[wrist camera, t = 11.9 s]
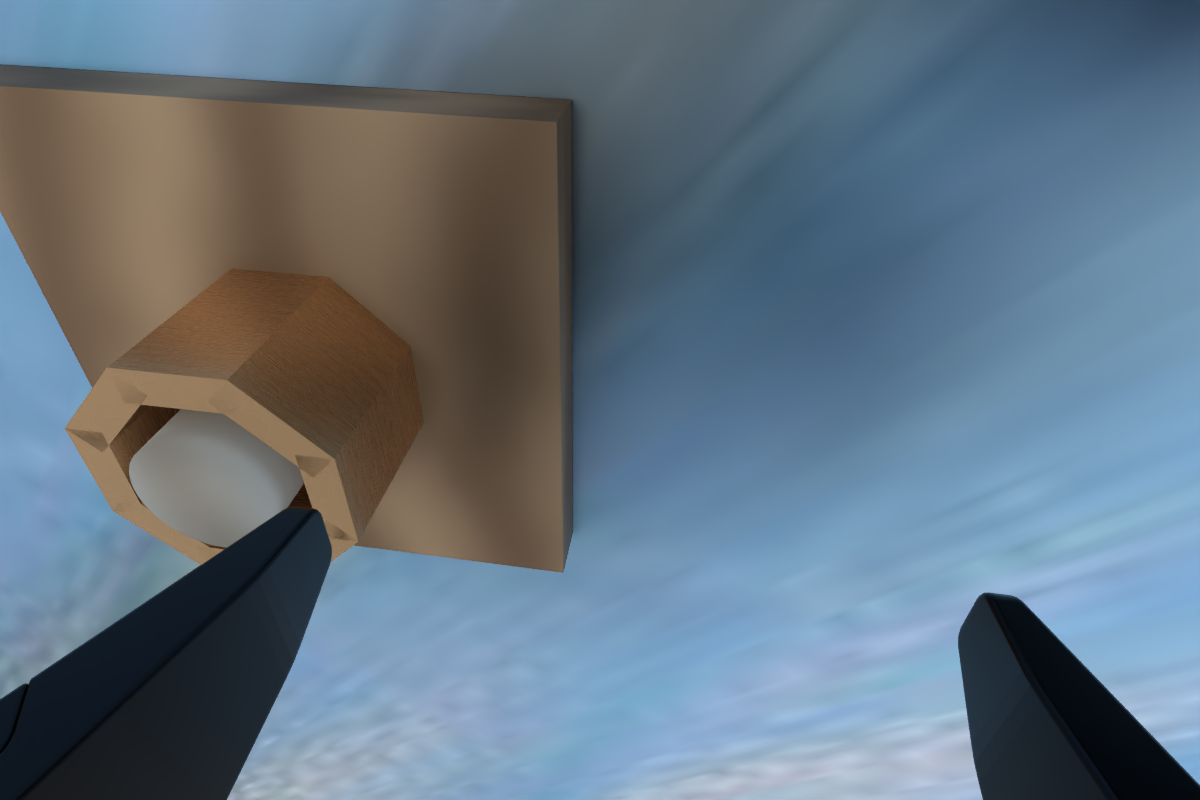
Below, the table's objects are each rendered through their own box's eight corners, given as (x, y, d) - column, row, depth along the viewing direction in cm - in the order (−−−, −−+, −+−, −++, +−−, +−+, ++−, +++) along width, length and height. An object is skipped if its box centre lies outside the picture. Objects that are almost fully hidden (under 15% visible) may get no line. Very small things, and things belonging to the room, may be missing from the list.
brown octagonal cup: (399, 283, 19) (314, 389, 15) (432, 470, 23) (372, 591, 19) (164, 262, 20) (24, 358, 16) (237, 447, 24) (141, 559, 20)
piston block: (571, 100, 17) (493, 215, 12) (572, 532, 27) (530, 715, 21) (-2, 64, 19) (-330, 149, 13) (192, 484, 29) (54, 642, 23)
